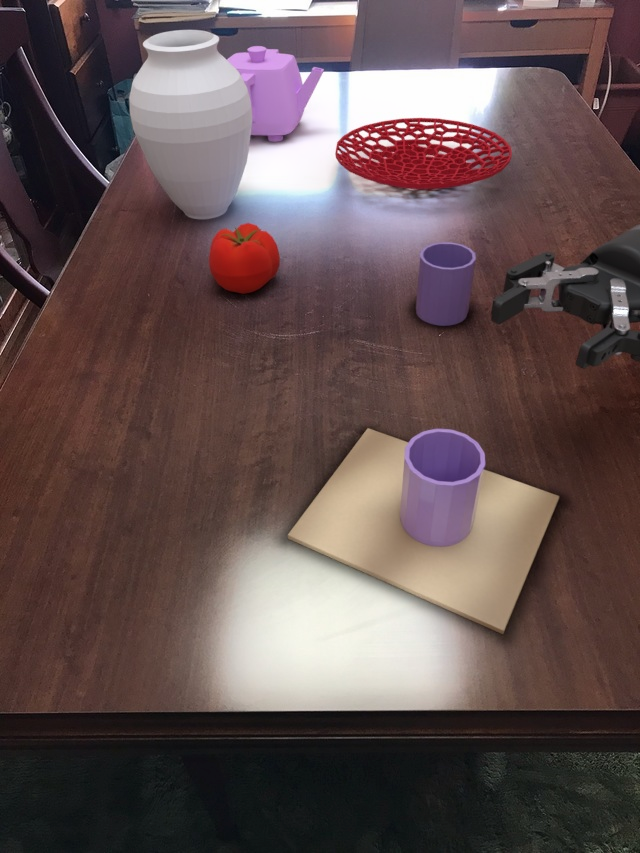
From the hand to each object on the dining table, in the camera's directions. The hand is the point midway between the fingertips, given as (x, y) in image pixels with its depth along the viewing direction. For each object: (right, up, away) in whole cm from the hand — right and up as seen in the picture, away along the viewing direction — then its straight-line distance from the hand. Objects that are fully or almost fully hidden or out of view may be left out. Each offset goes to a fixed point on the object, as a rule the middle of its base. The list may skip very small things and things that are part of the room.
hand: (536, 335), depth 57 cm
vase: (-36, +28, +56) cm, 72 cm away
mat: (-8, -16, +7) cm, 19 cm away
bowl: (0, +36, +63) cm, 72 cm away
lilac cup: (-2, +7, +32) cm, 33 cm away
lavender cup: (-7, -16, +6) cm, 18 cm away
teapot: (-29, +51, +81) cm, 100 cm away
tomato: (-28, +12, +38) cm, 49 cm away
